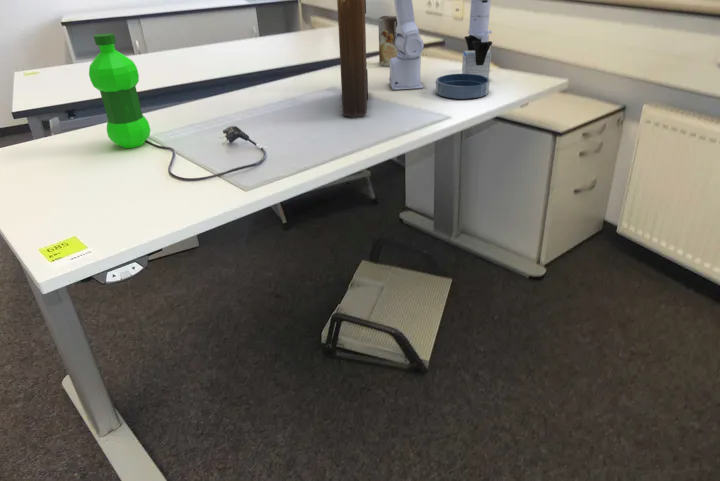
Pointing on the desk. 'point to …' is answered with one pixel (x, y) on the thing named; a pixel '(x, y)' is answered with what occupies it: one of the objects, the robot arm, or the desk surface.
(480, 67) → the medicine box
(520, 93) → the desk surface
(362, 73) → the dark brown tall slab
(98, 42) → the plastic bottle
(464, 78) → the bowl
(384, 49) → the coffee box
